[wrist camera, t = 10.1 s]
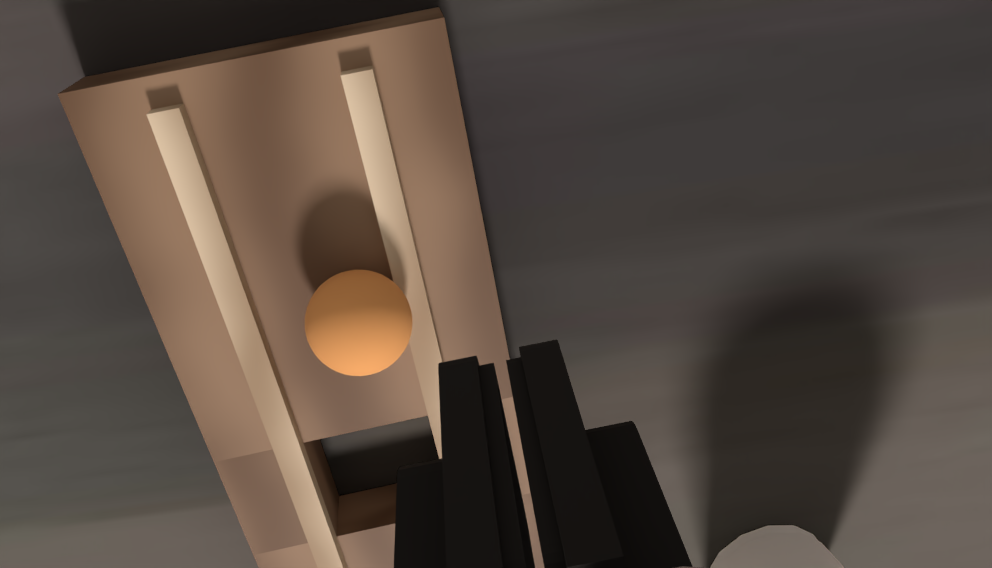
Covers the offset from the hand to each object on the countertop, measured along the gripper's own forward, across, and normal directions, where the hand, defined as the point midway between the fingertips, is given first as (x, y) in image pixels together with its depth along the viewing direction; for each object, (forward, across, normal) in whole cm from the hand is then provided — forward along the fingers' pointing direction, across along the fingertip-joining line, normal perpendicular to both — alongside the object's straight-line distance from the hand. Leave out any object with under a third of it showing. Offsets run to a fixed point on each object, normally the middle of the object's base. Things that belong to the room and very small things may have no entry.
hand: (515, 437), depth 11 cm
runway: (+19, +6, +9) cm, 22 cm away
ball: (+15, +5, +6) cm, 17 cm away
